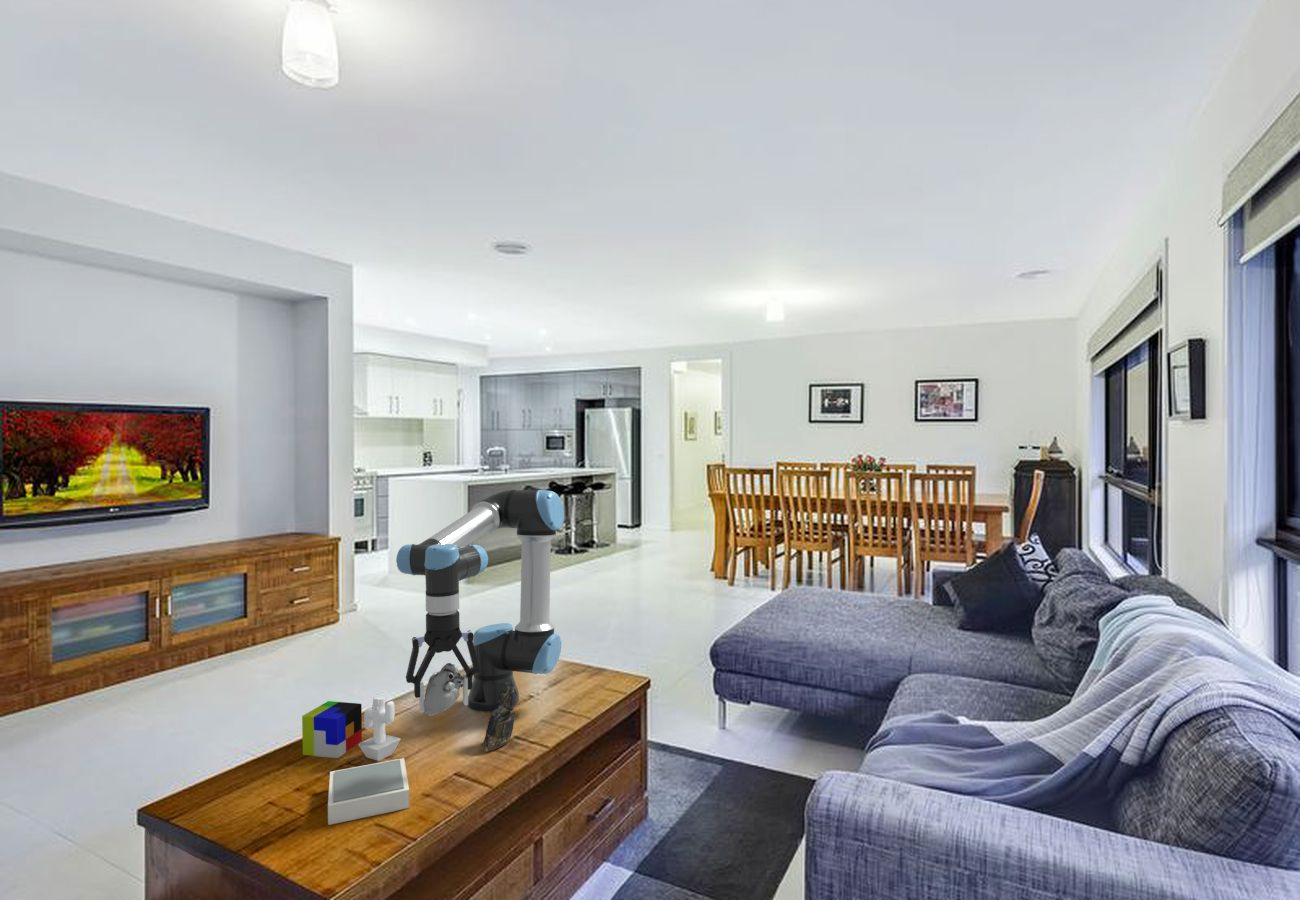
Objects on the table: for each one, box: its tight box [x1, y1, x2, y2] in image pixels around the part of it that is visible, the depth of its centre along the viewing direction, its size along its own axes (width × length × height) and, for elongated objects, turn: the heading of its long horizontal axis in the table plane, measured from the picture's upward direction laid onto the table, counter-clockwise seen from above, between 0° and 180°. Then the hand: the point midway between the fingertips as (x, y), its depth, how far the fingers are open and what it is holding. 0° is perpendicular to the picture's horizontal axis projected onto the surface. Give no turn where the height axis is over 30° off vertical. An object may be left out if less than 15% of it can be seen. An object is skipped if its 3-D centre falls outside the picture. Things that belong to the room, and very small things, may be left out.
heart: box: [424, 662, 463, 717], centre depth 159 cm, size 10×10×12 cm
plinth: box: [327, 757, 410, 826], centre depth 152 cm, size 16×16×4 cm
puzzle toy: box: [301, 700, 363, 759], centre depth 177 cm, size 10×10×10 cm
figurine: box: [357, 695, 402, 762], centre depth 173 cm, size 7×9×15 cm
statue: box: [482, 682, 515, 752], centre depth 179 cm, size 6×12×15 cm, turn 155°
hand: (443, 706), depth 159 cm, fingers closed on heart, 9 cm apart
